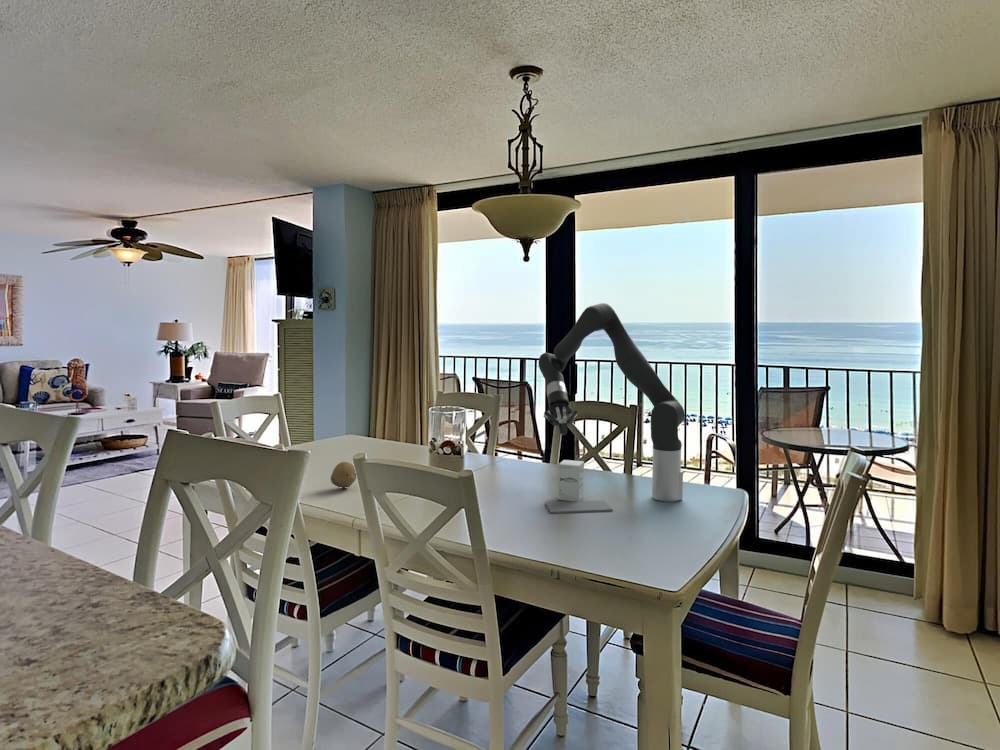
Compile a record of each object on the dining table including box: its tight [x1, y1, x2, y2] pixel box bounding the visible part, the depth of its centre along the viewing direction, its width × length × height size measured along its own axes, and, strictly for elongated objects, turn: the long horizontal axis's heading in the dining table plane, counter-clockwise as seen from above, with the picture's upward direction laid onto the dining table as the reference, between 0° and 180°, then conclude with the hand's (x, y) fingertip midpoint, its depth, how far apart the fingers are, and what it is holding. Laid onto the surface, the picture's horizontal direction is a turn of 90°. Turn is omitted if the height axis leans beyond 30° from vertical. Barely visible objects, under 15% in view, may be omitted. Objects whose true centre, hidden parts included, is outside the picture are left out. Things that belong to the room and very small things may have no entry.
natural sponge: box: [330, 461, 357, 488], centre depth 218 cm, size 9×9×10 cm
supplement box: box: [557, 459, 585, 502], centre depth 205 cm, size 7×7×13 cm
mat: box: [544, 499, 614, 515], centre depth 195 cm, size 20×10×1 cm, turn 96°
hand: (563, 433), depth 216 cm, fingers closed
